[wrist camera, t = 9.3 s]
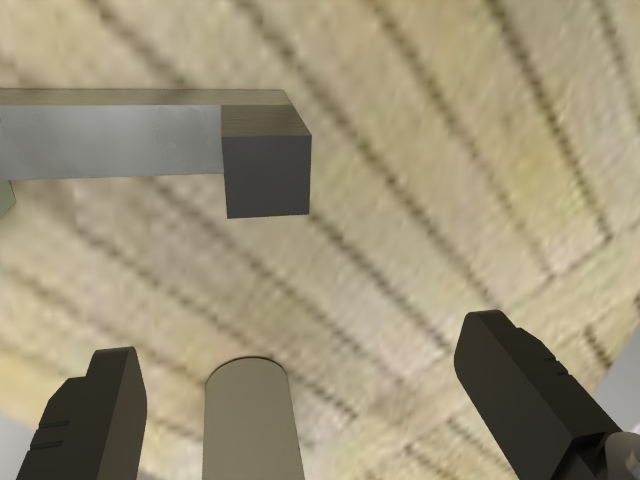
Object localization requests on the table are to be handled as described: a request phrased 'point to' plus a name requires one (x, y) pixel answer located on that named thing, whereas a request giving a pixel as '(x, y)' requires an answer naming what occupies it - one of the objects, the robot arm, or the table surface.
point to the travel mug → (250, 424)
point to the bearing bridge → (6, 197)
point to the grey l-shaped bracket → (163, 141)
